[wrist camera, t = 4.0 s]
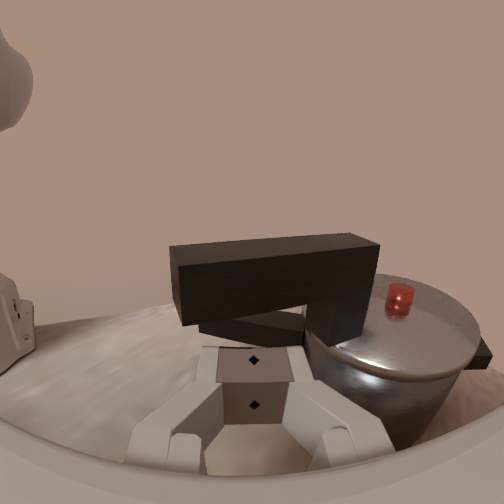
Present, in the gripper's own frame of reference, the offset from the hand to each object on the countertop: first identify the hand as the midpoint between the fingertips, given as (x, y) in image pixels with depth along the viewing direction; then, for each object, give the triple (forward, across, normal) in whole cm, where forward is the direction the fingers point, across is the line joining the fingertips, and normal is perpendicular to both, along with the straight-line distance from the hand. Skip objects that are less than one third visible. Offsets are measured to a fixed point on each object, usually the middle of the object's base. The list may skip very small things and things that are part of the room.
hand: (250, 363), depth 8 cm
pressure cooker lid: (+10, -9, +6) cm, 15 cm away
